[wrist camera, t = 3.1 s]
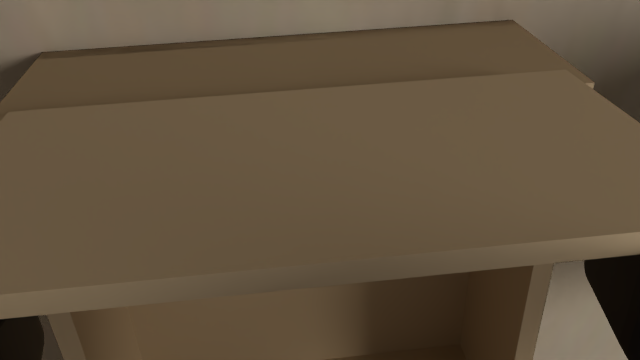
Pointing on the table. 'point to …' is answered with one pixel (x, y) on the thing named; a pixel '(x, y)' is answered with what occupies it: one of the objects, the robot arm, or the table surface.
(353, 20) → the table surface
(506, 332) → the carton
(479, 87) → the flap
